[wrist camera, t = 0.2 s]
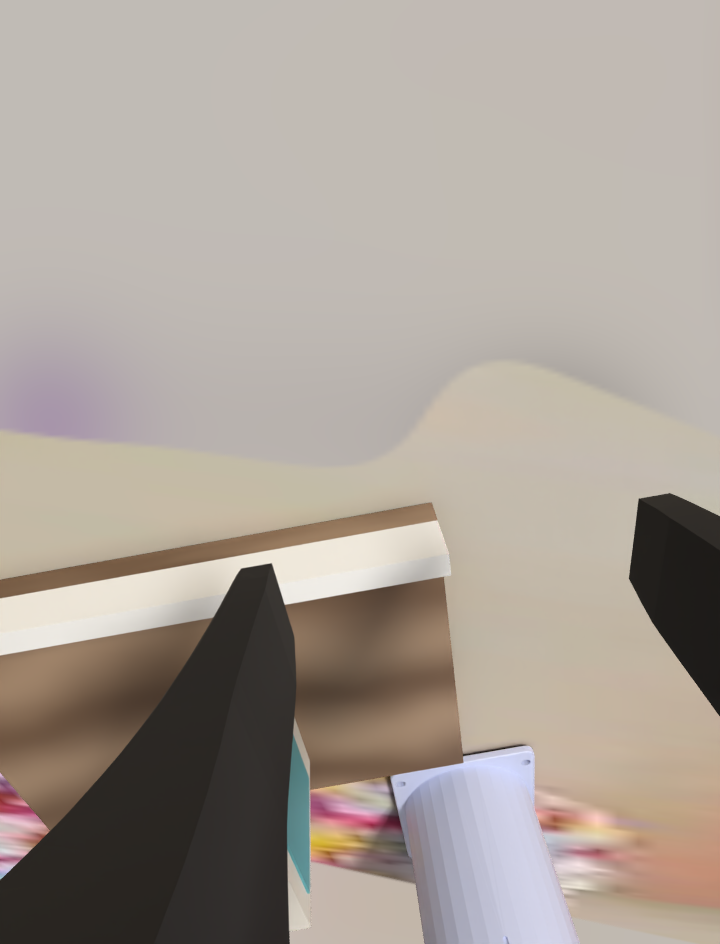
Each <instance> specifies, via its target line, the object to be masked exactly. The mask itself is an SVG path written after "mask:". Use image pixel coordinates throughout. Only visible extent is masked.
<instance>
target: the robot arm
mask: <svg viewBox="0 0 720 944" xmlns="http://www.w3.org/2000/svg"><path fill="white" fill-rule="evenodd" d="M629 579H630V581H631V583H632V585H633V587H634V589H635V591H636V593H637V595H638V597H639V599H640V601H641V603H642V605H643V606H644V608H645V610H646V612H647V613H648V615H649V617H650V619H651V621H652V622H653V624H654V626H655V627H656V628H657V630H658V631H659V633H660V634H661V636H662V637H663V638H664V640H665V641H666V643H667V644H668V645H669V647H670V648H671V650H672V651H673V652H674V654H675V655H676V657H677V658H678V659H679V661H680V662H681V664H682V665H683V666H684V668H685V669H686V670H687V672H688V673H689V675H690V676H691V677H692V679H693V680H694V681H695V683H696V684H697V686H698V687H699V688H700V690H701V691H702V692H703V694H704V695H705V697H706V698H707V699H708V701H709V702H710V703H711V705H712V706H713V708H714V709H715V710H716V712H717V713H718V714H719V716H720V516H718V515H716V514H714V513H712V512H710V511H708V510H706V509H704V508H702V507H699V506H697V505H695V504H693V503H691V502H689V501H687V500H685V499H682V498H680V497H678V496H675V495H673V494H671V493H669V494H664V495H658V496H652V497H646V498H641V499H639V501H638V510H637V518H636V526H635V534H634V542H633V550H632V558H631V566H630V575H629ZM296 686H297V685H296V658H295V638H294V634H293V630H292V627H291V624H290V621H289V617H288V614H287V611H286V607H285V604H284V601H283V598H282V594H281V591H280V588H279V585H278V581H277V578H276V575H275V572H274V568H273V565H272V563H270V564H264V565H258V566H252V567H247V568H241V569H240V571H239V572H238V573H237V575H236V577H235V579H234V581H233V582H232V584H231V586H230V588H229V590H228V592H227V594H226V595H225V597H224V599H223V601H222V603H221V605H220V606H219V608H218V610H217V612H216V613H215V615H214V617H213V619H212V621H211V622H210V624H209V626H208V627H207V629H206V631H205V632H204V634H203V636H202V637H201V639H200V641H199V642H198V644H197V646H196V647H195V649H194V651H193V652H192V654H191V656H190V657H189V659H188V660H187V662H186V663H185V665H184V666H183V668H182V669H181V671H180V672H179V674H178V675H177V677H176V678H175V680H174V681H173V683H172V684H171V686H170V687H169V689H168V690H167V692H166V693H165V695H164V696H163V698H162V699H161V700H160V702H159V703H158V705H157V706H156V707H155V709H154V710H153V712H152V713H151V714H150V716H149V717H148V718H147V720H146V721H145V722H144V724H143V725H142V726H141V728H140V729H139V730H138V731H137V733H136V734H135V735H134V737H133V738H132V739H131V740H130V742H129V743H128V744H127V745H126V747H125V748H124V749H123V750H122V752H121V753H120V754H119V755H118V757H117V758H116V759H115V760H114V761H113V762H112V764H111V765H110V766H109V767H108V768H107V769H106V771H105V772H104V773H103V774H102V775H101V776H100V778H99V779H98V780H97V781H96V782H95V783H94V784H93V785H92V786H91V788H90V789H89V790H88V791H87V792H86V793H85V794H84V795H83V797H82V798H81V799H80V800H79V801H78V802H77V803H76V804H75V805H74V807H73V808H72V809H71V810H70V811H69V812H68V813H67V814H66V815H65V816H64V817H63V818H62V819H61V820H60V821H59V822H58V824H57V825H56V826H55V827H54V828H53V829H52V830H51V831H50V832H49V833H48V834H47V835H46V836H45V837H44V838H43V839H42V840H41V841H40V842H39V843H38V844H37V845H36V846H35V847H34V848H33V849H32V850H31V851H30V852H29V853H28V854H27V855H26V856H25V857H24V858H23V859H22V860H21V861H20V862H18V863H17V864H16V865H15V866H14V867H13V868H12V869H11V870H10V871H9V872H8V873H7V874H6V875H5V876H4V877H3V878H2V879H1V880H0V944H290V942H289V906H288V855H287V817H288V796H289V782H290V769H291V756H292V743H293V729H294V716H295V701H296ZM463 761H464V763H461V764H455V765H450V766H444V767H438V768H432V769H427V770H421V771H415V772H410V773H404V774H398V775H392V776H390V778H391V783H392V788H393V792H394V796H395V801H396V805H397V809H398V814H399V818H400V822H401V827H402V831H403V835H404V840H405V844H406V848H407V853H408V856H409V857H410V858H412V862H413V869H414V875H415V882H416V888H417V896H418V902H419V909H420V916H421V922H422V929H423V936H424V943H425V944H580V941H579V938H578V935H577V933H576V930H575V927H574V924H573V921H572V918H571V915H570V912H569V909H568V906H567V903H566V900H565V897H564V894H563V891H562V888H561V886H560V883H559V880H558V877H557V874H556V871H555V868H554V865H553V862H552V859H551V856H550V853H549V850H548V847H547V844H546V841H545V838H544V836H543V833H542V830H541V827H540V824H539V821H538V818H537V815H536V812H535V809H534V752H533V749H532V748H531V747H530V746H519V747H513V748H508V749H502V750H496V751H490V752H485V753H479V754H473V755H467V756H463Z"/></svg>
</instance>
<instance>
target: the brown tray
mask: <svg viewBox="0 0 720 944" xmlns="http://www.w3.org/2000/svg"><path fill="white" fill-rule="evenodd" d="M270 563H272V565H273V568H274V572H275V575H276V578H277V581H278V585H279V588H280V591H281V594H282V598H283V601H284V604H285V607H286V611H287V614H288V617H289V621H290V624H291V627H292V630H293V634H294V638H295V658H296V685H297V686H296V701H295V716H294V717H295V720H296V723H297V726H298V729H299V731H300V734H301V737H302V740H303V743H304V746H305V748H306V751H307V754H308V757H309V760H310V790H312V789H318V788H324V787H329V786H335V785H341V784H346V783H352V782H358V781H364V780H369V779H375V778H381V777H387V776H392V775H398V774H404V773H410V772H415V771H421V770H427V769H432V768H438V767H444V766H450V765H455V764H461V763H464V761H463V752H462V743H461V734H460V724H459V715H458V706H457V696H456V687H455V678H454V668H453V659H452V650H451V641H450V631H449V622H448V613H447V603H446V594H445V585H444V576H450V575H451V568H450V558H449V552H448V549H447V546H446V543H445V540H444V538H443V535H442V532H441V529H440V526H439V523H438V520H437V517H436V514H435V511H434V508H433V506H432V503H426V504H421V505H415V506H410V507H404V508H398V509H393V510H387V511H382V512H376V513H371V514H365V515H359V516H354V517H348V518H343V519H337V520H332V521H326V522H320V523H315V524H309V525H304V526H298V527H292V528H287V529H281V530H276V531H270V532H265V533H259V534H253V535H248V536H242V537H237V538H231V539H226V540H220V541H214V542H209V543H203V544H198V545H192V546H186V547H181V548H175V549H170V550H164V551H159V552H153V553H147V554H142V555H136V556H131V557H125V558H120V559H114V560H108V561H103V562H97V563H92V564H86V565H81V566H75V567H69V568H64V569H58V570H53V571H47V572H41V573H36V574H30V575H25V576H19V577H14V578H8V579H2V580H0V773H1V774H2V775H3V776H4V777H5V779H6V780H7V781H8V782H9V783H10V784H11V786H12V787H13V788H14V789H15V790H16V791H17V793H18V794H19V795H20V796H21V797H22V798H23V799H24V801H25V802H26V803H27V804H28V805H29V806H30V808H31V809H32V810H33V811H34V812H35V813H36V815H37V816H38V817H39V818H40V819H41V820H42V822H43V823H44V824H45V825H46V826H47V827H48V829H49V830H50V831H51V830H52V829H53V828H54V827H55V826H56V825H57V824H58V822H59V821H60V820H61V819H62V818H63V817H64V816H65V815H66V814H67V813H68V812H69V811H70V810H71V809H72V808H73V807H74V805H75V804H76V803H77V802H78V801H79V800H80V799H81V798H82V797H83V795H84V794H85V793H86V792H87V791H88V790H89V789H90V788H91V786H92V785H93V784H94V783H95V782H96V781H97V780H98V779H99V778H100V776H101V775H102V774H103V773H104V772H105V771H106V769H107V768H108V767H109V766H110V765H111V764H112V762H113V761H114V760H115V759H116V758H117V757H118V755H119V754H120V753H121V752H122V750H123V749H124V748H125V747H126V745H127V744H128V743H129V742H130V740H131V739H132V738H133V737H134V735H135V734H136V733H137V731H138V730H139V729H140V728H141V726H142V725H143V724H144V722H145V721H146V720H147V718H148V717H149V716H150V714H151V713H152V712H153V710H154V709H155V707H156V706H157V705H158V703H159V702H160V700H161V699H162V698H163V696H164V695H165V693H166V692H167V690H168V689H169V687H170V686H171V684H172V683H173V681H174V680H175V678H176V677H177V675H178V674H179V672H180V671H181V669H182V668H183V666H184V665H185V663H186V662H187V660H188V659H189V657H190V656H191V654H192V652H193V651H194V649H195V647H196V646H197V644H198V642H199V641H200V639H201V637H202V636H203V634H204V632H205V631H206V629H207V627H208V626H209V624H210V622H211V621H212V619H213V617H214V615H215V613H216V612H217V610H218V608H219V606H220V605H221V603H222V601H223V599H224V597H225V595H226V594H227V592H228V590H229V588H230V586H231V584H232V582H233V581H234V579H235V577H236V575H237V573H238V572H239V571H240V569H241V568H247V567H252V566H258V565H264V564H270Z"/></svg>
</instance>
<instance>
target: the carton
mask: <svg viewBox="0 0 720 944" xmlns="http://www.w3.org/2000/svg"><path fill="white" fill-rule="evenodd" d="M287 855H288V906H289V932H290V931H296V930H302V929H308V928H311V848H310V760H309V757H308V754H307V751H306V748H305V746H304V743H303V740H302V737H301V734H300V731H299V729H298V726H297V723H296V720H295V717H294V729H293V743H292V756H291V769H290V782H289V796H288V817H287Z"/></svg>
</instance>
